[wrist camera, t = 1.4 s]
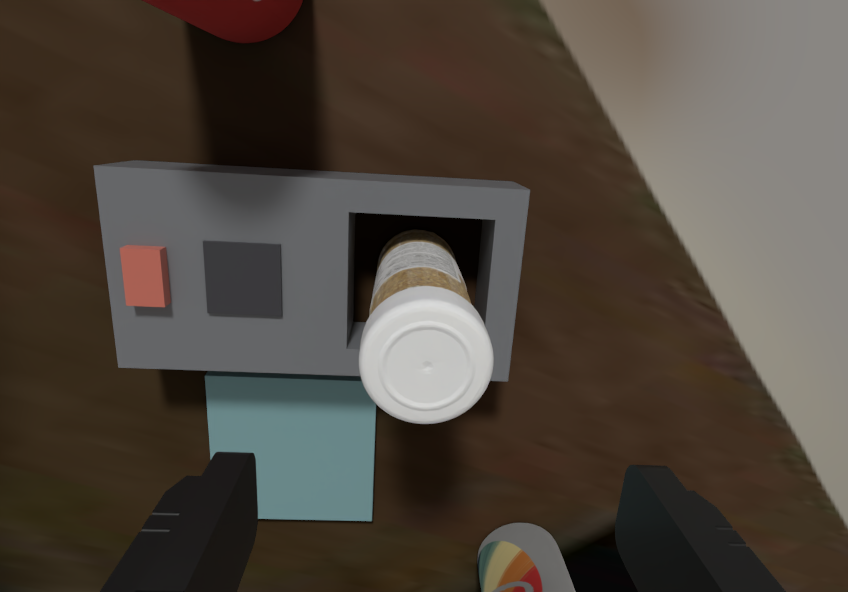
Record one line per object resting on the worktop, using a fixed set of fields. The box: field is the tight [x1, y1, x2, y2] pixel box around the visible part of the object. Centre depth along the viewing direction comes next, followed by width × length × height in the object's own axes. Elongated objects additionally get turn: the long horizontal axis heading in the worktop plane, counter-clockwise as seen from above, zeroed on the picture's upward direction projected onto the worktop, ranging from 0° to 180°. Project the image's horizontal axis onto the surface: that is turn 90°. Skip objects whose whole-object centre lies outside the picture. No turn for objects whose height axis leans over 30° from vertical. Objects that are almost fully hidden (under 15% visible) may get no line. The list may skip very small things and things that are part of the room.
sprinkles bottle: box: [359, 229, 494, 424], centre depth 24 cm, size 5×5×13 cm
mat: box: [205, 371, 376, 521], centre depth 33 cm, size 10×10×1 cm
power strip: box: [94, 160, 530, 381], centre depth 28 cm, size 20×10×5 cm, turn 87°
